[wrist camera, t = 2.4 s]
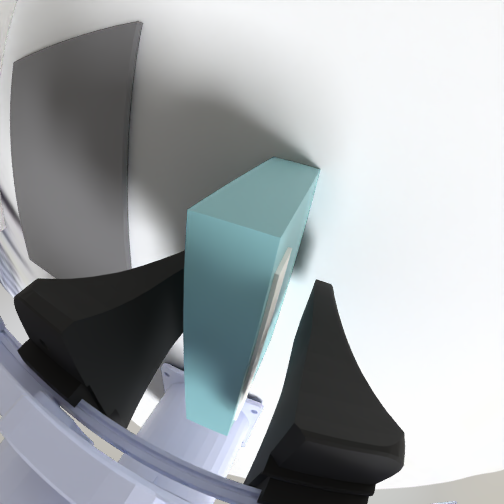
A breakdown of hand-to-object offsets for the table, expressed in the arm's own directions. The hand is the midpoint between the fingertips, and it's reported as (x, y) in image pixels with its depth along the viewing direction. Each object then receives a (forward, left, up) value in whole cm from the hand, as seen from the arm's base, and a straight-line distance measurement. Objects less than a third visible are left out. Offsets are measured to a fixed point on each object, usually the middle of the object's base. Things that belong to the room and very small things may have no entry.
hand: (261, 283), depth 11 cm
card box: (0, 0, -2) cm, 2 cm away
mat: (+1, +15, -2) cm, 15 cm away
